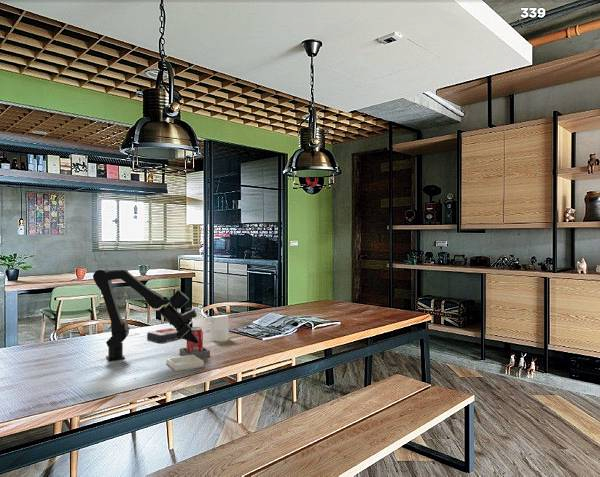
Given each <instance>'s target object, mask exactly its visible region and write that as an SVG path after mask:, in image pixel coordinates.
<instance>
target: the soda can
mask: <svg viewBox="0 0 600 477" xmlns="http://www.w3.org/2000/svg"><path fill="white" fill-rule="evenodd" d="M191 328H192V329H191V332H192V333H193V335H194V336H195V337H196V339H197V340H198V343H194V342H191V341H188V340H186V348H187V352H188V353H194V352H200V351H203V347H204V332H203V330H202V327H199V326H193V327H191Z"/></svg>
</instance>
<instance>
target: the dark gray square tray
mask: <svg viewBox="0 0 600 477" xmlns="http://www.w3.org/2000/svg"><path fill="white" fill-rule="evenodd" d="M179 355H180V356H187V355H195V356H196V357H198V358H199V359H201V358H206V357H207V358H208V357H211V350H210V349H208V348H206V347H204V346H203V351H200V352H194V353H188V352H187V347H181V348H179Z"/></svg>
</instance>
